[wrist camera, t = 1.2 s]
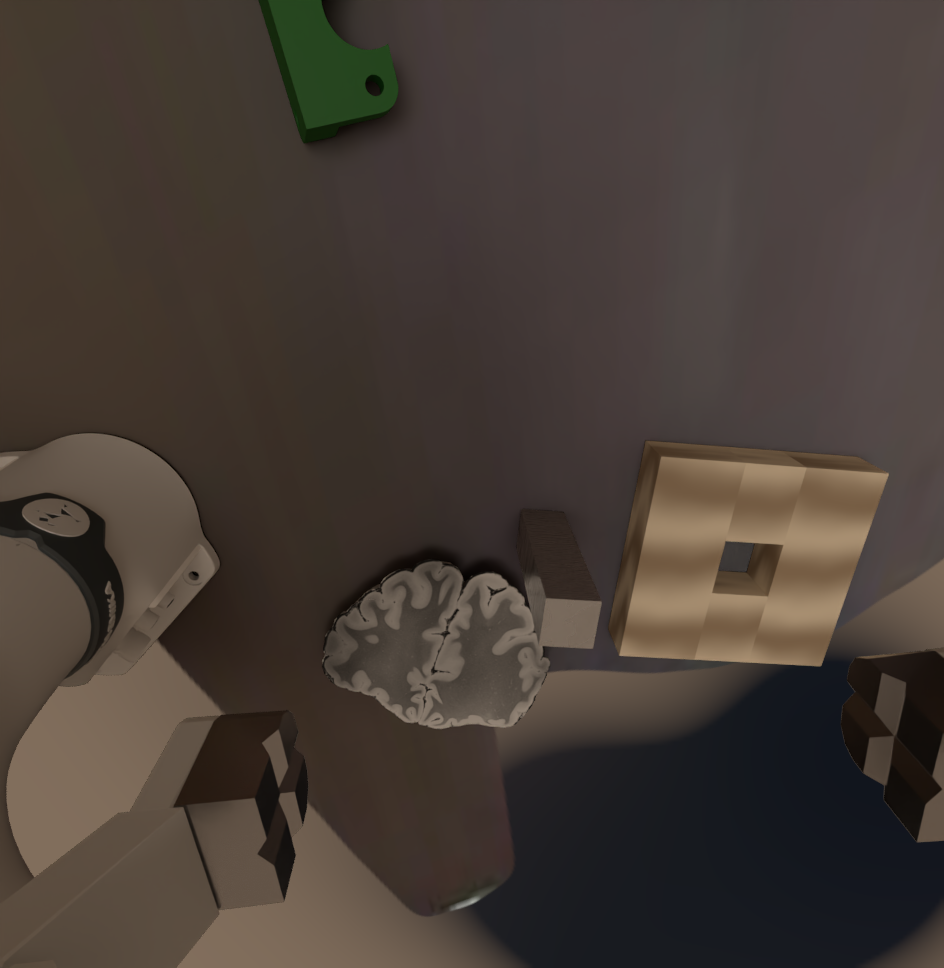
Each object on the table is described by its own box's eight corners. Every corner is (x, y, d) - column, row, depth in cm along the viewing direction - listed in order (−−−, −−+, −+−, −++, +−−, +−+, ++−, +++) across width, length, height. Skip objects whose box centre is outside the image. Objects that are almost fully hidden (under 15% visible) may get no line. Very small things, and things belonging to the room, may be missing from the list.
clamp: (373, 107, 46) (408, 139, 40) (292, 125, 45) (315, 161, 39) (330, -121, 38) (365, -126, 31) (228, -105, 36) (244, -108, 30)
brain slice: (574, 576, 56) (581, 593, 53) (513, 723, 62) (516, 746, 59) (356, 520, 53) (352, 535, 51) (314, 679, 59) (307, 701, 56)
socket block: (797, 638, 59) (821, 666, 56) (608, 628, 58) (619, 655, 54) (857, 456, 53) (888, 473, 49) (645, 440, 51) (661, 456, 48)
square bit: (557, 549, 55) (592, 648, 42) (516, 547, 55) (538, 645, 42) (563, 511, 53) (601, 601, 40) (521, 508, 53) (546, 598, 40)
